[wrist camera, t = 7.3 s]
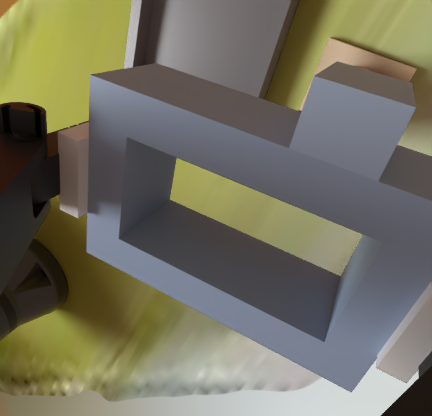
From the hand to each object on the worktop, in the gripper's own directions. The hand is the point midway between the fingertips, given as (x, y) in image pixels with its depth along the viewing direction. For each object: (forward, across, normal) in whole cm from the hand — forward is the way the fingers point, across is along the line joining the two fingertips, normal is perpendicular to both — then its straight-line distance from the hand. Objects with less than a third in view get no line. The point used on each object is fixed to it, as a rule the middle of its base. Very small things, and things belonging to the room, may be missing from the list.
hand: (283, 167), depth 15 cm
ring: (-3, 0, 0) cm, 3 cm away
